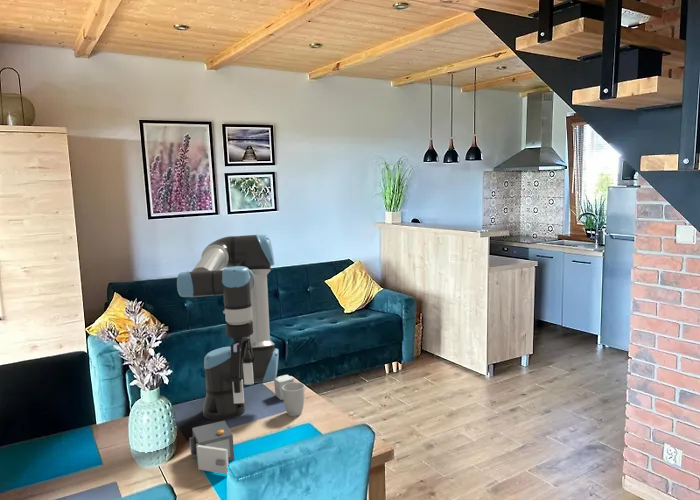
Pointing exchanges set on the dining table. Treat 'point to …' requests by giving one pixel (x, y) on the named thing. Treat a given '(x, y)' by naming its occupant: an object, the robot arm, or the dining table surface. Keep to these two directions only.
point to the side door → (212, 459)
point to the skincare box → (281, 384)
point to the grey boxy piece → (213, 438)
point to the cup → (293, 398)
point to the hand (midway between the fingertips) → (244, 393)
